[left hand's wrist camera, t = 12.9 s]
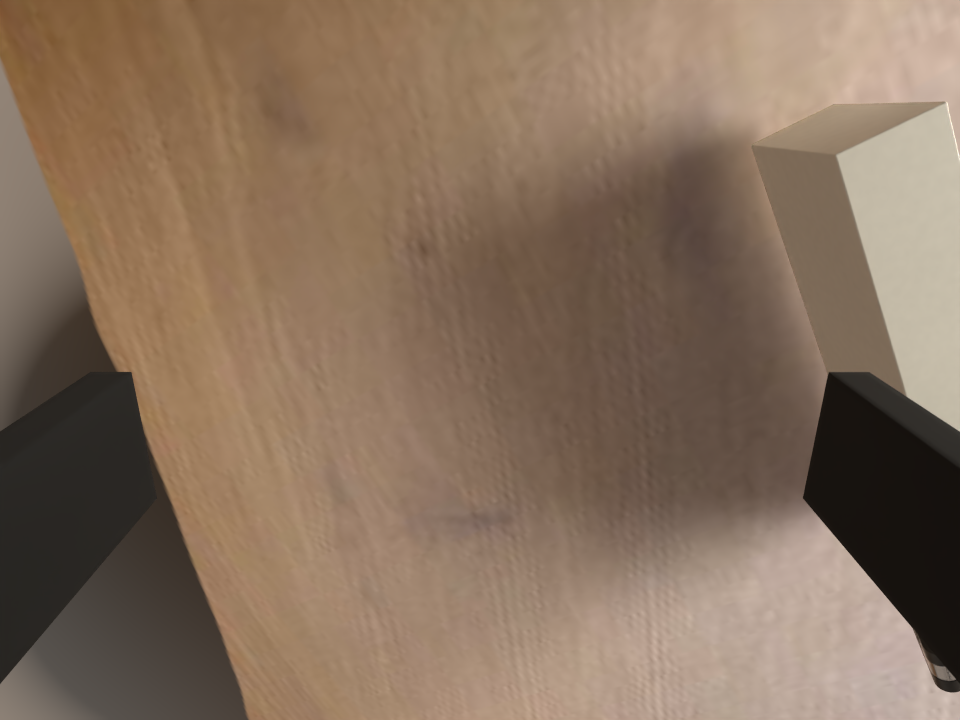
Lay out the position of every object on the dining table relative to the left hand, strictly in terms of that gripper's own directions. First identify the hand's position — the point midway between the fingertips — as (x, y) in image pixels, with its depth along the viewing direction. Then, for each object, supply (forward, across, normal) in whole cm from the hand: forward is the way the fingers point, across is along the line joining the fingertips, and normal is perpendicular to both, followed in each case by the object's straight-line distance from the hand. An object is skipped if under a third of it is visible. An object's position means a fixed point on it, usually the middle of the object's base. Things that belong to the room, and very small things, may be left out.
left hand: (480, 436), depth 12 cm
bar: (+25, +22, -6) cm, 34 cm away
